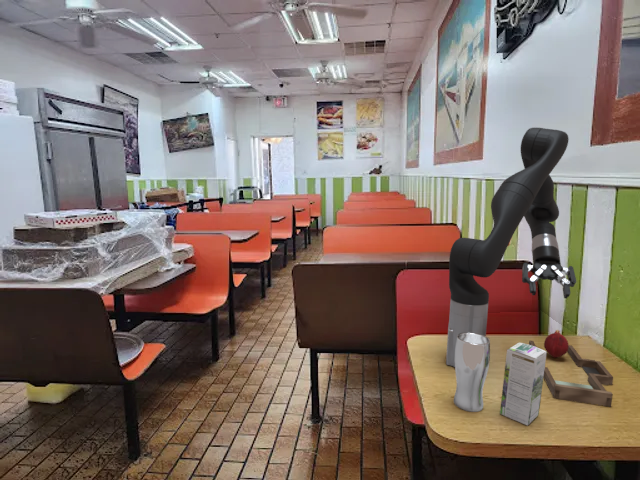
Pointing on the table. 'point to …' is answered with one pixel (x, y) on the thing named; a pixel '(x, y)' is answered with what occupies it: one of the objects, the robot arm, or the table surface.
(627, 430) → the table surface
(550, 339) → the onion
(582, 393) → the zigzag wooden tray
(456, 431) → the table surface
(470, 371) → the beer glass
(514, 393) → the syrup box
